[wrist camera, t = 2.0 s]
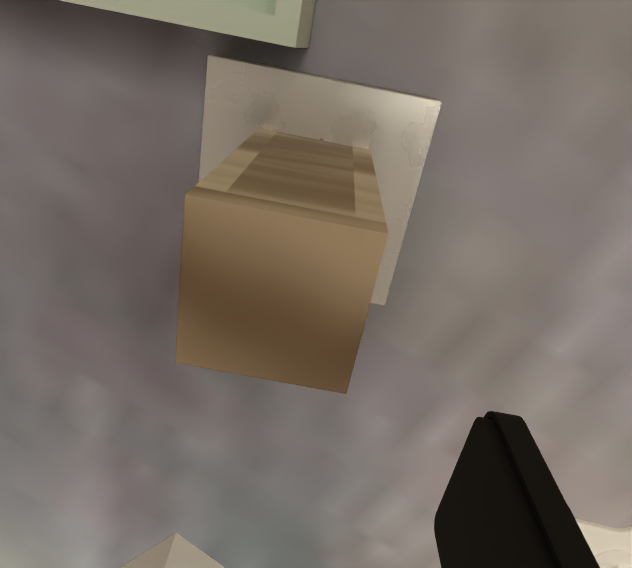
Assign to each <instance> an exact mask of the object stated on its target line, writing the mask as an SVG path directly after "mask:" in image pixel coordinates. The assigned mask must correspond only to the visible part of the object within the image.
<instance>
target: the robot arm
mask: <svg viewBox="0 0 632 568" xmlns="http://www.w3.org/2000/svg"><path fill="white" fill-rule="evenodd" d="M434 531H435V538H436V543H437V548H438V553H439V558H440V563H441V568H600V567H599V565H598V563H597V561H596V559H595V557H594V555H593V553H592V551H591V549H590V547H589V545H588V543H587V541H586V539H585V537H584V535H583V533H582V531H581V529H580V527H579V526H578V524H577V522H576V520H575V518H574V516H573V514H572V512H571V510H570V508H569V507H568V505H567V504H566V502H565V500H564V498H563V496H562V494H561V492H560V490H559V488H558V486H557V484H556V482H555V480H554V478H553V476H552V474H551V472H550V470H549V468H548V466H547V464H546V462H545V460H544V459H543V457H542V455H541V453H540V451H539V449H538V447H537V445H536V443H535V441H534V439H533V437H532V435H531V433H530V431H529V429H528V427H527V425H526V423H525V421H524V420H523V418H522V417H520V416H516V415H511V414H505V413H499V412H494V411H489V412H487V413H486V414H485V416H484V418H483V417H477V418H476V419H475V421H474V423H473V425H472V428H471V430H470V433H469V435H468V437H467V440H466V442H465V445H464V447H463V449H462V452H461V454H460V457H459V459H458V461H457V464H456V466H455V469H454V471H453V474H452V476H451V478H450V481H449V483H448V486H447V488H446V490H445V493H444V495H443V498H442V500H441V502H440V505H439V507H438V510H437V512H436V515H435V522H434Z"/></svg>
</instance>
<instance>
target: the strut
mask: <svg viewBox="0 0 632 568" xmlns="http://www.w3.org/2000/svg"><path fill="white" fill-rule="evenodd" d="M387 238H388V229H387V224H386V220H385V215H384V211H383V206H382V202H381V197H380V192H379V188H378V183H377V179H376V174H375V169H374V165H373V160H372V156H371V151H370V150H368V149H363V148H358V147H353V146H348V145H343V144H338V143H333V142H328V141H322V140H317V139H312V138H307V137H302V136H297V135H292V134H287V133H282V132H277V131H272V130H267V129H262V128H259V129H258V130H257V131H256V132H254V133H253V134H252V135H251V136H250V137H249V138H248V139H247V140H245V141H244V142H243V143H242V144H241V145H240V146H239V147H238V148H237V149H235V150H234V151H233V152H232V153H231V154H230V155H229V156H228V157H227V158H225V159H224V160H223V161H222V162H221V163H220V164H219V165H218V166H217V167H215V168H214V169H213V170H212V171H211V172H210V173H209V174H208V175H207V176H205V177H204V178H203V179H202V180H201V181H200V182H199V183H198V184H196V185H195V186H194V187H193V188H192V189H191V190H190V191H189V192H188V193H186V194H185V206H184V222H183V239H182V256H181V272H180V289H179V305H178V322H177V338H176V355H175V363H180V364H186V365H191V366H197V367H202V368H208V369H213V370H219V371H224V372H229V373H235V374H240V375H246V376H251V377H257V378H262V379H268V380H273V381H278V382H284V383H289V384H295V385H300V386H306V387H311V388H317V389H322V390H328V391H333V392H338V393H344V394H346V393H347V389H348V386H349V382H350V378H351V374H352V370H353V367H354V363H355V359H356V355H357V351H358V348H359V344H360V340H361V336H362V333H363V329H364V325H365V321H366V317H367V314H368V310H369V306H370V302H371V298H372V295H373V291H374V287H375V283H376V279H377V276H378V272H379V268H380V264H381V261H382V257H383V253H384V249H385V245H386V242H387Z"/></svg>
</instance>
